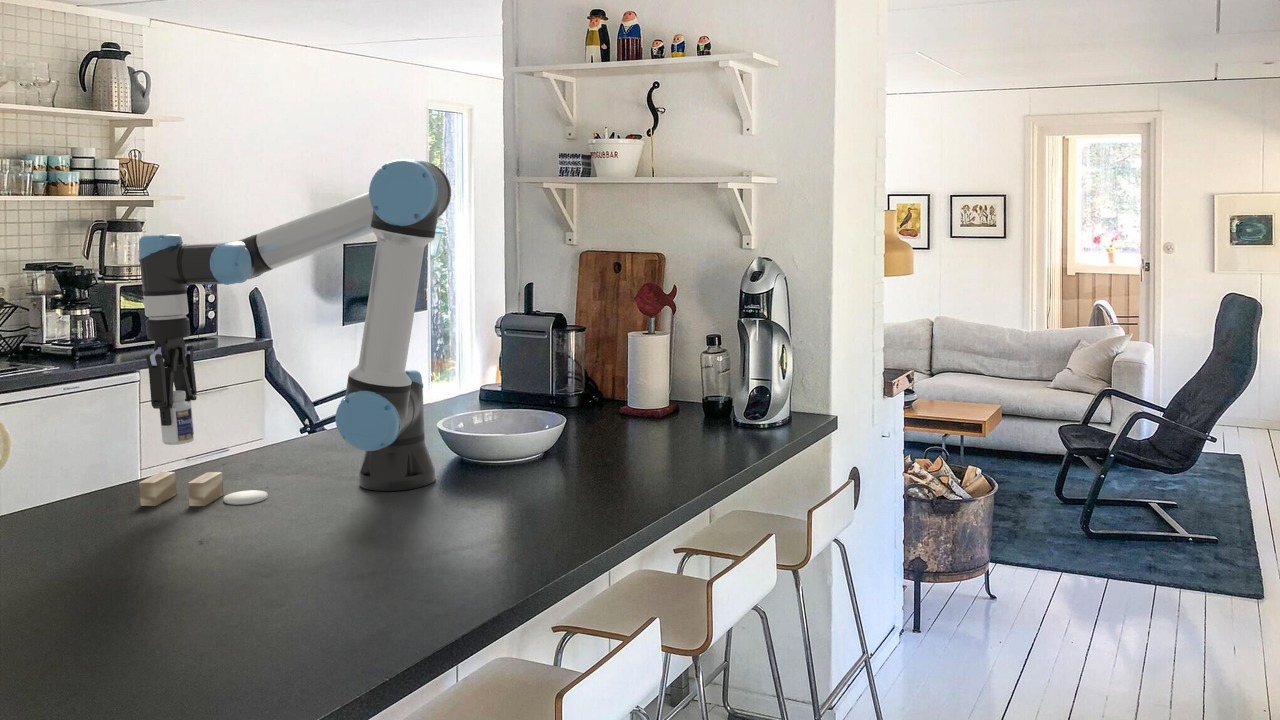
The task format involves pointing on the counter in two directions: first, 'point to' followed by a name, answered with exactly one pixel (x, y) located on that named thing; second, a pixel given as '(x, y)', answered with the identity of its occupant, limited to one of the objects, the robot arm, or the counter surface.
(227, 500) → the pad
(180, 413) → the pill bottle
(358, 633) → the counter surface
